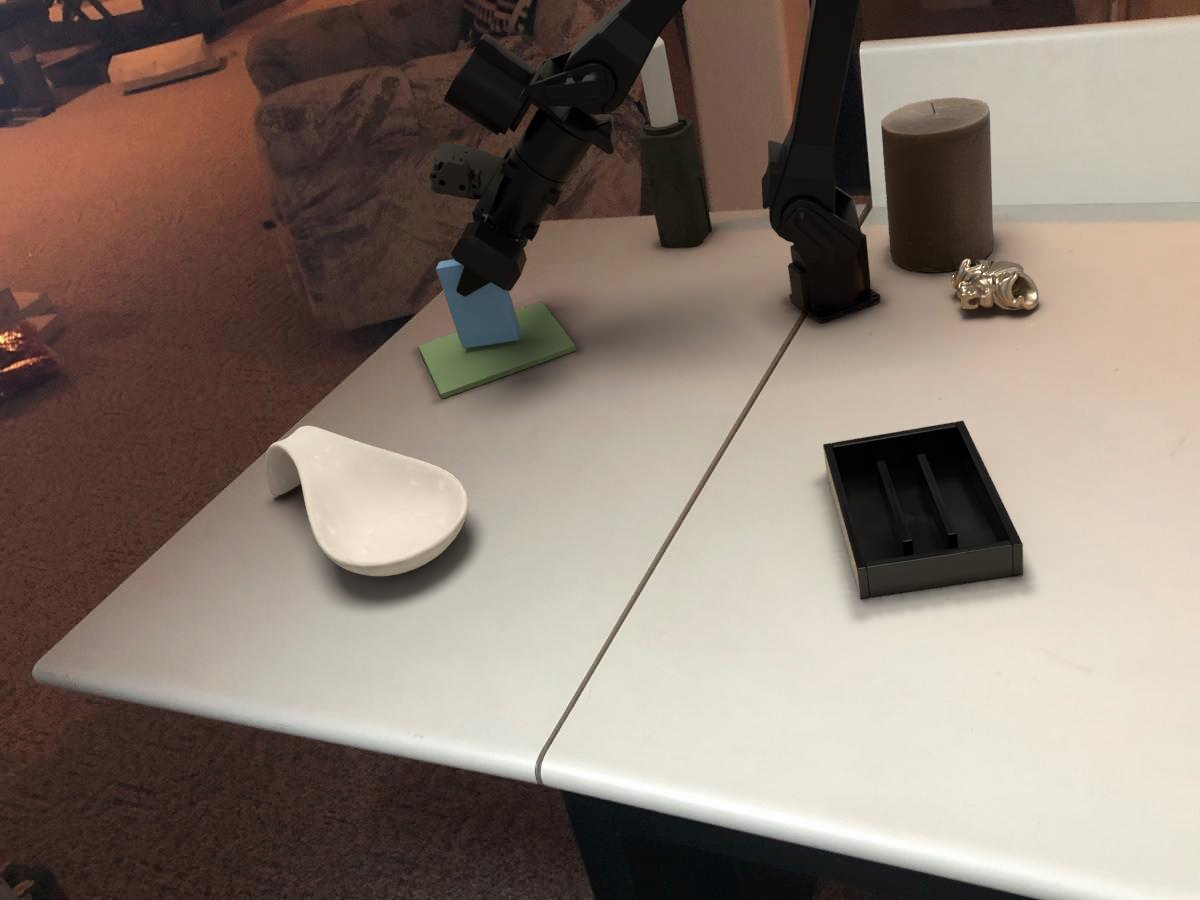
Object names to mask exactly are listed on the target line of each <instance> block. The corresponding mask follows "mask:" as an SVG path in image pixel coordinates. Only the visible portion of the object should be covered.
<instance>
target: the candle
mask: <svg viewBox="0 0 1200 900" xmlns="http://www.w3.org/2000/svg"><path fill="white" fill-rule="evenodd" d="M640 76H641V80H642V85H643V90H644V95H645V101H646V105H647V110H648V116H649V120H648V121H647V122H646V124H644V125H643V131H642V132H641V133H640V134H639V135H638V140H639V145H640V151H641V156H642V161H643V165H644V169H645V175H646V180H647V184H648V189H649V193H650V198H651V204H652V209H653V214H654V218H655V219H654V220H655V223H656V224H655V225H656V229H657V232H658V233H657V234H658V239H659V243H660V246H661V247H662V248H694V247H698V246H700V245H701V244H703V243H704V240H705V238H706V237H707V236H708V234H710V233H712V231H713V227H712V221H711V214H710V210H709V203H708V198H707V197H708V196H707V192H706V187H705V181H704V175H703V170H702V163H701V157H700V153H699V148H698V141H697V135H696V130H695V125H694V120H693V119H691V118H686V115H683V114H679V113H678V111H677V106H676V101H675V95H674V90H673V89H674V88H673V84H672V78H671V72H670V67H669V62H668V56H667V52H666V46H665V42H664V39H662V38H661V37H660V36H659V37H658V39H657V41H656V43H655V44H654V46H653V48H652V50H651V52H650V54H649V56H648V58H647V60H646V62H645V64H644V66H643V68H642V70H641V72H640Z"/></svg>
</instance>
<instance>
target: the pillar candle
mask: <svg viewBox="0 0 1200 900" xmlns="http://www.w3.org/2000/svg"><path fill="white" fill-rule="evenodd" d="M880 125H881V126H880V127H881V141H882V157H883V169H884V175H883V176H884V182H885V183H884V185H885V195H886V197H885V198H886V209H887V212H886V213H887V224H888V226H887V227H888V228H887V229H888V239H889V251H890V256H891V259H892V260H893V262H894V263H895V264H897V266H899V267H901V268H903V269H906V270H910V271H914V272H927V273H947V272H952V271H956V270H958V269H959V267H960V265H961V263H962V261H963V260H965V259H970V260H971V264H970V266H973V265H976V264H975V261H976V260H980V259H983V260H985V259H986V258H987V257H988V256H989V255H990V254H991V253H992V251H993V248H994V221H993V219H994V217H993V185H992V179H993V178H992V144H991V140H992V139H991V137H992V136H991V110H990V107H989V104H988V102H987V101H983V99H982V100H981V99H980V98H979V99H977V98H967V97H954V96H953V97H943V98H931V99H927V100H920V101H916V102H910V103H907V104H904V105H903V106H902V107H898V108H896V109H894V110H892V111H891V112H889V113H887V114H886V115H885V116H884V117H883V118H882V119H881V121H880Z"/></svg>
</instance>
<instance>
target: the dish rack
mask: <svg viewBox="0 0 1200 900" xmlns="http://www.w3.org/2000/svg"><path fill="white" fill-rule="evenodd" d="M966 425H967V424H965V421H964V420H957V421H952V422H947V423H941V424H936V425H929V426H923V427H917V428H910V429H905V430H899V431H893V432H888V433H882V434H876V435H870V436H863V437H858V438H852V439H846V440H841V441H833V442H828V443H823V444H822V448H823V456H824V464H825V470H826V471H825V472H826V475H827V479H828V484H829V486H830V490H831V494H832V498H833V502H834V506H835V509H836V513H837V517H838V520H839V524H840V529H841V532H842V535H843V539H844V543H845V546H846V550H847V554H848V558H849V562H850V566H851V569H852V572H853V577H854V580H855V584H856V588H857V592H858V595H859V600H867V599H868V600H869V599H873V598H881V597H887V596H893V595H894V596H895V595H900V594H907V593H914V592H922V591H928V590H934V589H941V588H948V587H954V586H961V585H968V584H976V583H981V582H988V581H995V580H1001V579H1008V578H1015V577H1022V576H1024V544H1023V541H1022V540H1021V537H1020V535H1019V532H1018V530H1017V529H1016V527H1015V525H1014V523H1013V521H1012V519H1011V516H1010V514H1009V512H1008V510H1007V508H1006V506H1005V504H1004V502H1003V500H1002V497H1001V495H1000V494H999V492H998V489H997V488H996V486H995V483H994V481H993V479H992V477H991V475H990V473H989V470H988V468H987V467H986V465H985V463H984V460H983V458H982V456H981V455H980V452H979V449H978V447H977V445H976V444H975V441H974V439H973V437H972V436H971V434H970V431H969V429H968V427H967V426H966Z"/></svg>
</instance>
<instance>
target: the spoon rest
mask: <svg viewBox="0 0 1200 900" xmlns="http://www.w3.org/2000/svg"><path fill="white" fill-rule="evenodd" d="M264 461H265V462H264V463H265V464H264V467H265V468H264V469H265V477H266V480H267V485H268V488H269V492H270V493H271V495H273V496H281V495H283V494H285V493H288V492H290V491H291V490H293V489H295V488H296V487H298V486H301V490H302V494H303V500H304V505H305V509H306V510H305V511H306V514H307V519H308V522H309V526H310V529H311V532H312V535H313V537H314V539H315V541H316V543H317V545H318V546H319V548H320V549H321V551H322V552H323V554H325V555H326V556H327V557H328V558H329V560H331V561H332V562H333V563H334V564H336V565H337V566H339V567H341V568H342V569H344V570H346V571H349V572H352V573H354V574H359V575H363V576H367V577H368V576H369V577H389V576H391V577H392V576H396V575H400V574H405V573H408V572H410V571H413V570H416V569H418V568H420V567H423V566H424V565H427V564H428V563H429V562H431V561H433V560H434V559H435V558H437V557H438V556H440V555H441V554H442V553H443V552H444V551H445V550H446V549H447V548H449V546H450V545H451V544H452V542H453V541H454V540H455V539H456V538H457V536H458V534H459V533H460V531H461V529H462V527H463V526H464V523H465V522H466V519H467V516H468V513H469V508H470V502H469V495H468V492H467V490H466V488H465V486H464V485H463V483H462V482H461V481H460V480H459V479H458V478H457V477H456V476H454V475H453V474H452V473H451V472H449V471H447V470H446V469H444V468H441V467H439V466H437V465H434V464H432V463H429V462H426V461H424V460H422V459H417V458H414V457H411V456H408V455H404V454H401V453H398V452H394V451H391V450H388V449H384V448H381V447H378V446H374V445H372V444H368V443H364V442H361V441H358V440H355V439H352V438H349V437H348V436H347V437H346V436H344V435H340V434H338V433H335V432H332V431H330V430H329V431H328V430H326V429H323V428H320V427H319V426H314V425H303V426H300V427H298V428H296V429H295V431H294V432H293V433H291V434H290V435H289V436H288V437H286V438H284V439H280V440H278V441H276V442H273V443H272V444H271V445H269V447H268V448H267V451H266V454H265V460H264ZM300 484H301V485H300Z"/></svg>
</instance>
